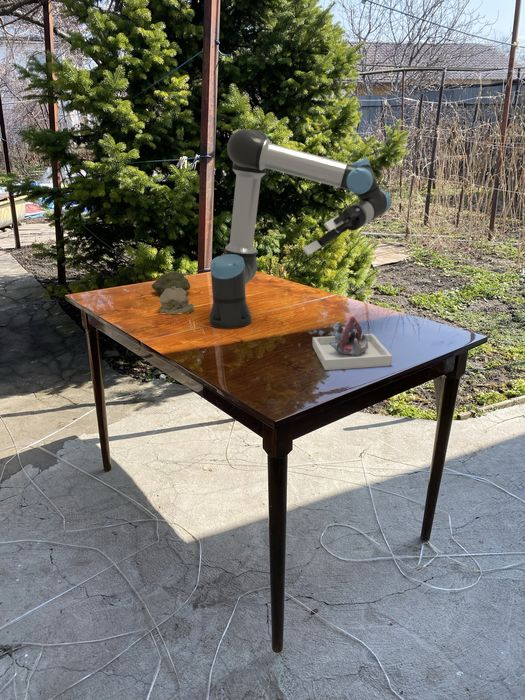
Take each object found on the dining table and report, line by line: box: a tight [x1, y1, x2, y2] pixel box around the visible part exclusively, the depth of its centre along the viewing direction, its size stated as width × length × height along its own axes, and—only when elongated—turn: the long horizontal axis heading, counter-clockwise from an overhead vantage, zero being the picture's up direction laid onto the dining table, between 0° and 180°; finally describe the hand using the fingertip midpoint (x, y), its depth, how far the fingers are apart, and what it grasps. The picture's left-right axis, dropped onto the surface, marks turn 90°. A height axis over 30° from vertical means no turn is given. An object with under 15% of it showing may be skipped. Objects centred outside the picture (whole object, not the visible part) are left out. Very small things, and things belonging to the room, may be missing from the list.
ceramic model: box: [158, 286, 195, 314], centre depth 204 cm, size 14×11×10 cm
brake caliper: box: [329, 315, 368, 356], centre depth 156 cm, size 11×11×12 cm
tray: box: [312, 333, 393, 371], centre depth 156 cm, size 19×19×3 cm
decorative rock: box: [151, 270, 191, 294], centre depth 229 cm, size 15×16×10 cm
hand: (315, 240), depth 160 cm, fingers open, 13 cm apart
